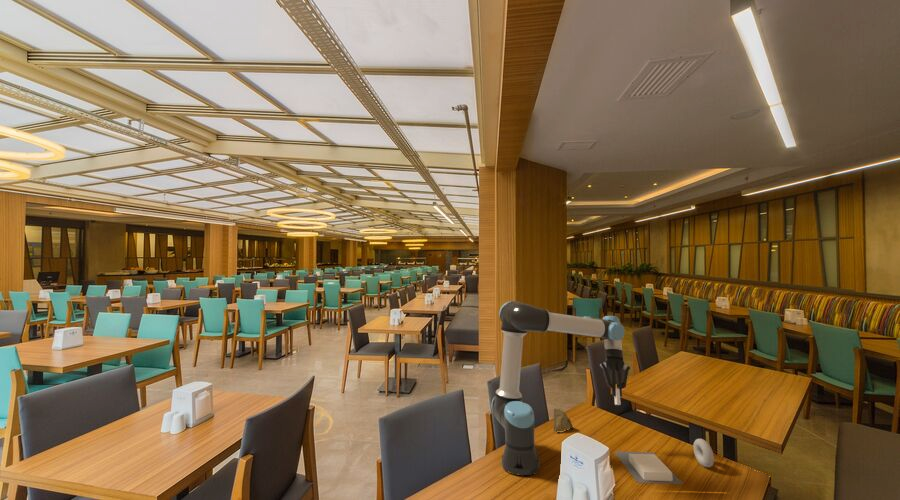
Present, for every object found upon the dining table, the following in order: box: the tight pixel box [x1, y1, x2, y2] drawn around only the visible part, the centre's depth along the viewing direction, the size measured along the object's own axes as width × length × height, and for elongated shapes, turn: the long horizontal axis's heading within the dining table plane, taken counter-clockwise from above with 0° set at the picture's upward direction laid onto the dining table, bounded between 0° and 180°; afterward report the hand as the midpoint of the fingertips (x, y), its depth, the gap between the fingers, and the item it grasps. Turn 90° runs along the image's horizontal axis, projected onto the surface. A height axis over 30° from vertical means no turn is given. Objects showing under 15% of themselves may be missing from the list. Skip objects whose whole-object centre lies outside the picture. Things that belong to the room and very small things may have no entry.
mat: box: [614, 451, 684, 485], centre depth 140 cm, size 22×16×1 cm
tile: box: [629, 453, 673, 481], centre depth 137 cm, size 3×10×13 cm
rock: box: [553, 408, 574, 432], centre depth 173 cm, size 11×9×10 cm
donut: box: [692, 438, 715, 468], centre depth 141 cm, size 10×3×10 cm, turn 175°
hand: (617, 404), depth 155 cm, fingers closed
